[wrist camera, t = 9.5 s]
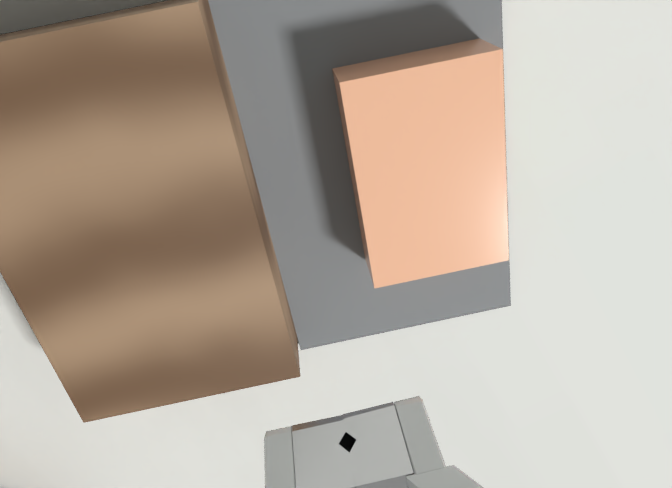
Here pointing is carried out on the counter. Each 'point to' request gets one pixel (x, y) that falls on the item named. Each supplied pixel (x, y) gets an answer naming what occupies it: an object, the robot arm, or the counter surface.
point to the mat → (338, 153)
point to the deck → (137, 212)
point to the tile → (427, 159)
